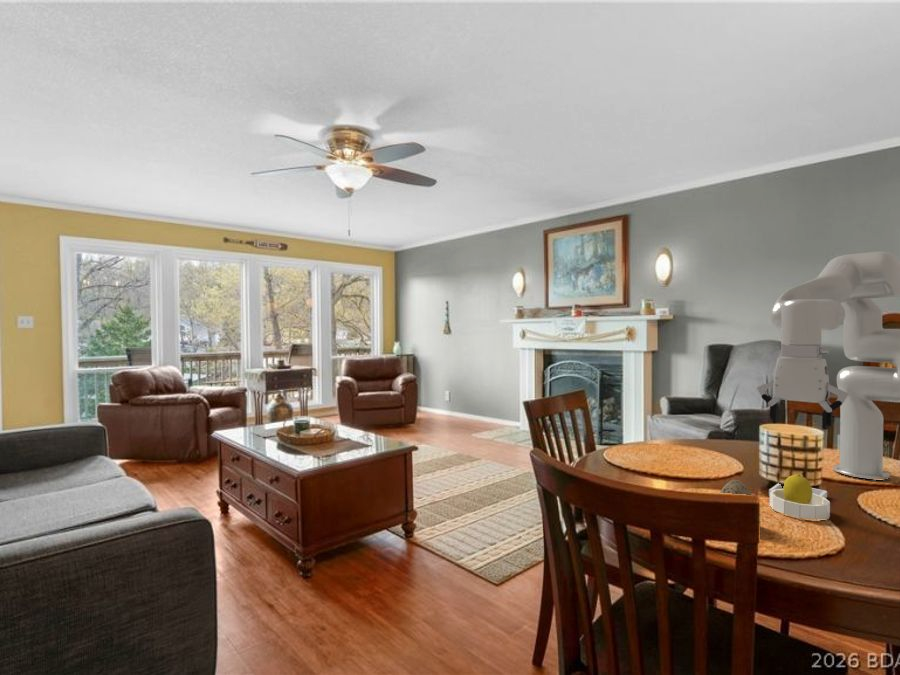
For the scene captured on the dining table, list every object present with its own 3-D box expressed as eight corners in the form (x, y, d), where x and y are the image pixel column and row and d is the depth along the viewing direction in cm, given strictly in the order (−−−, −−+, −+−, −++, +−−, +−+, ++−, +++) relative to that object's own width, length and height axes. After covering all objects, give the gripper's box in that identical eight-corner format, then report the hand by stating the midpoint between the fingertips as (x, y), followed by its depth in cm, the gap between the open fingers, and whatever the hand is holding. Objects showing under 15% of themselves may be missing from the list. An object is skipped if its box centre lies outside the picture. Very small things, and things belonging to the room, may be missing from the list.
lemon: (817, 513, 108) (817, 478, 108) (790, 511, 109) (790, 476, 109) (804, 504, 114) (804, 471, 114) (778, 502, 115) (778, 469, 115)
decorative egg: (713, 525, 104) (713, 479, 104) (722, 515, 109) (722, 472, 109) (750, 534, 99) (751, 487, 99) (758, 524, 104) (759, 479, 104)
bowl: (778, 499, 119) (778, 485, 119) (833, 512, 111) (834, 497, 111) (764, 510, 112) (764, 496, 112) (822, 525, 104) (822, 509, 103)
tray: (780, 487, 128) (780, 481, 128) (827, 496, 121) (827, 491, 121) (768, 495, 122) (768, 489, 122) (817, 506, 114) (817, 500, 114)
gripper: (852, 353, 107) (851, 429, 107) (763, 350, 120) (762, 418, 120) (844, 354, 102) (843, 434, 102) (753, 351, 115) (752, 422, 115)
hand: (800, 425), depth 111 cm, fingers open, 9 cm apart
